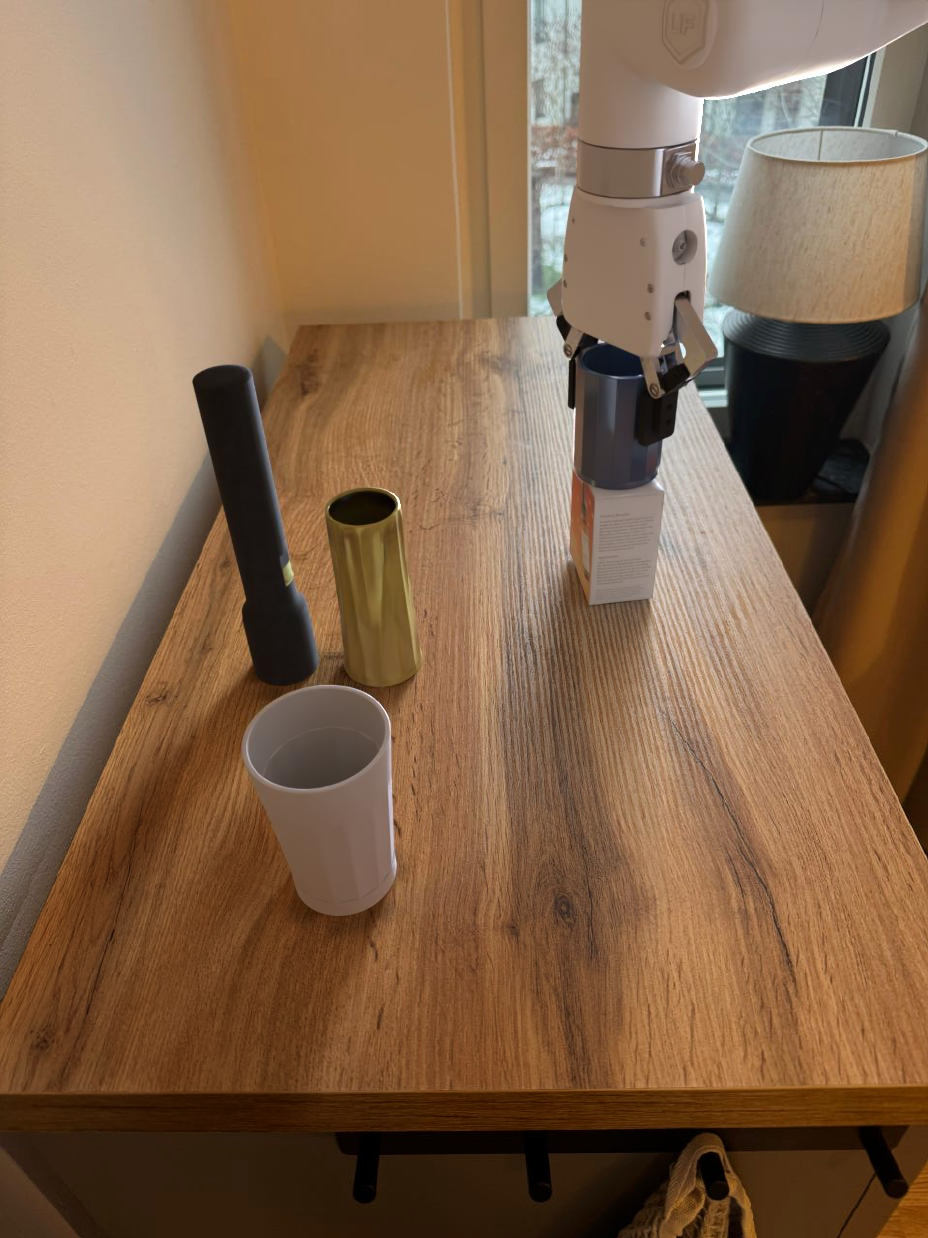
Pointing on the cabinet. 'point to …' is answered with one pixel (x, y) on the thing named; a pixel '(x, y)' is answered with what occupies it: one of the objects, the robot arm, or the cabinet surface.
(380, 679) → the vase
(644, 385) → the tumbler
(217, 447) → the flashlight
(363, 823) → the cup
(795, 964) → the cabinet surface
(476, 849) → the cabinet surface
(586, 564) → the small box
